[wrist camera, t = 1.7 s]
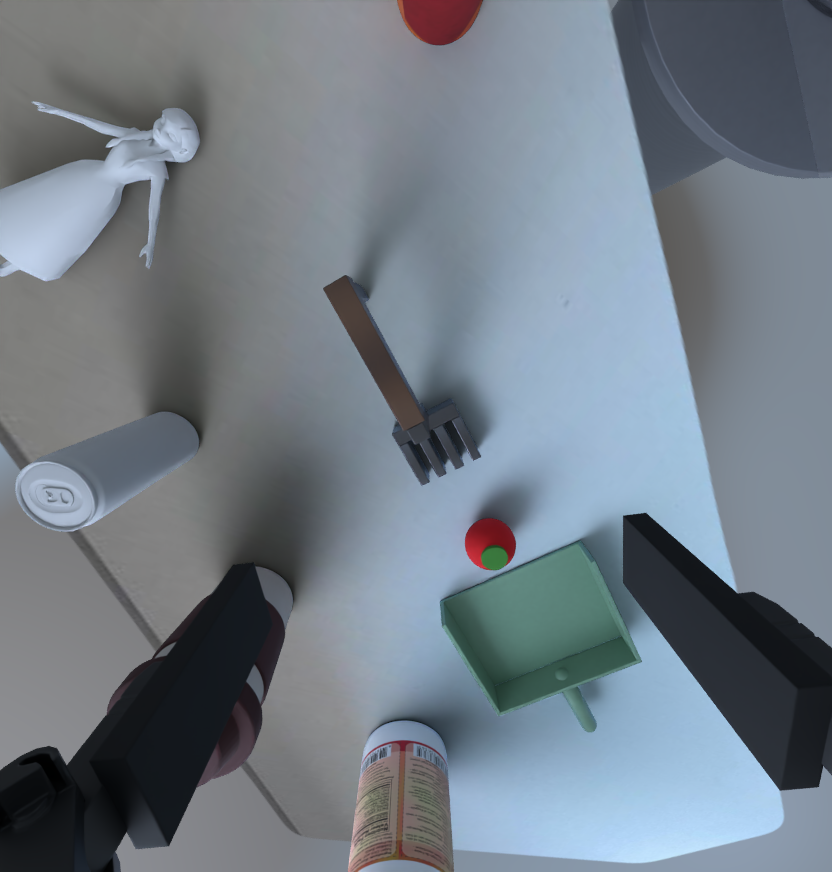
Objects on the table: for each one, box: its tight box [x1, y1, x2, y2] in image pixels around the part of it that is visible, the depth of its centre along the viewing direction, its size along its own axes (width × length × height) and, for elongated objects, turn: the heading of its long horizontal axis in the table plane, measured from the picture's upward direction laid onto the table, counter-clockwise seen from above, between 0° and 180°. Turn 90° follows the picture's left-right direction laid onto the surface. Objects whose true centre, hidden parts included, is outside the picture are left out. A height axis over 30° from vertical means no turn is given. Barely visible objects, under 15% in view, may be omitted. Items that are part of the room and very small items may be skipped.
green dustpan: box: [440, 540, 642, 732], centre depth 40 cm, size 20×15×3 cm
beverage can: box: [15, 412, 199, 532], centre depth 29 cm, size 5×5×12 cm
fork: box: [323, 275, 481, 485], centre depth 29 cm, size 16×6×8 cm, turn 28°
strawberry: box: [465, 518, 516, 570], centre depth 35 cm, size 4×4×4 cm
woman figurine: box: [0, 101, 200, 281], centre depth 28 cm, size 12×4×18 cm
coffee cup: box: [107, 567, 293, 787], centre depth 32 cm, size 10×10×15 cm
